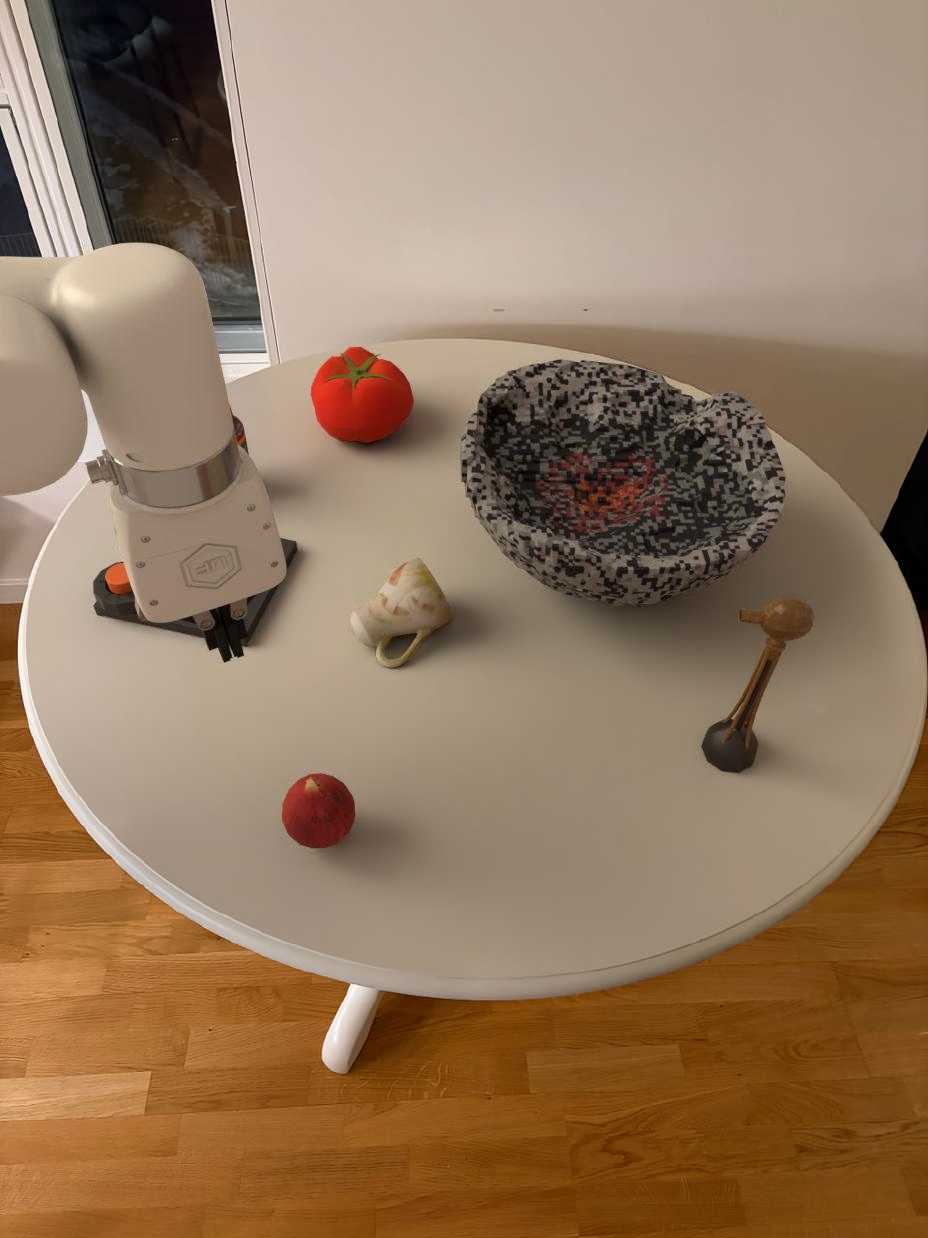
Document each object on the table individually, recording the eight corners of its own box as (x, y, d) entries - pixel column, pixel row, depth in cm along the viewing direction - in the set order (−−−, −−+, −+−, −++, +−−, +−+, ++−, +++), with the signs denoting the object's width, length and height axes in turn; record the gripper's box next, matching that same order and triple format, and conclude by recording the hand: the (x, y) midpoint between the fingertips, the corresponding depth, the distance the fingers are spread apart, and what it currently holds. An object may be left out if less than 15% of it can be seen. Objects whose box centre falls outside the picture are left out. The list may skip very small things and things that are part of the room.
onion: (367, 812, 76) (362, 761, 70) (343, 873, 73) (335, 825, 67) (303, 795, 77) (292, 743, 71) (276, 854, 73) (262, 805, 67)
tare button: (103, 592, 89) (99, 581, 87) (118, 570, 91) (114, 560, 89) (131, 597, 88) (127, 587, 87) (145, 576, 90) (142, 565, 89)
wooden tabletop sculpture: (690, 767, 80) (749, 619, 65) (688, 724, 83) (744, 573, 68) (757, 775, 80) (832, 628, 65) (753, 732, 83) (824, 582, 68)
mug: (333, 627, 90) (362, 538, 86) (417, 636, 95) (449, 552, 91) (356, 668, 84) (390, 574, 80) (445, 675, 89) (480, 587, 86)
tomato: (410, 459, 107) (408, 399, 101) (306, 454, 108) (298, 394, 101) (418, 397, 116) (417, 338, 109) (321, 392, 116) (315, 333, 110)
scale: (90, 617, 90) (81, 597, 88) (156, 522, 99) (150, 501, 97) (244, 650, 88) (239, 630, 85) (297, 550, 97) (294, 529, 95)
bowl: (460, 668, 87) (464, 558, 75) (457, 461, 107) (459, 350, 96) (782, 669, 88) (833, 560, 76) (717, 464, 108) (750, 354, 97)
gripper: (63, 530, 51) (142, 718, 65) (313, 458, 55) (337, 647, 69) (39, 454, 55) (118, 645, 69) (272, 393, 60) (303, 584, 74)
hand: (228, 646), depth 69 cm, fingers closed
